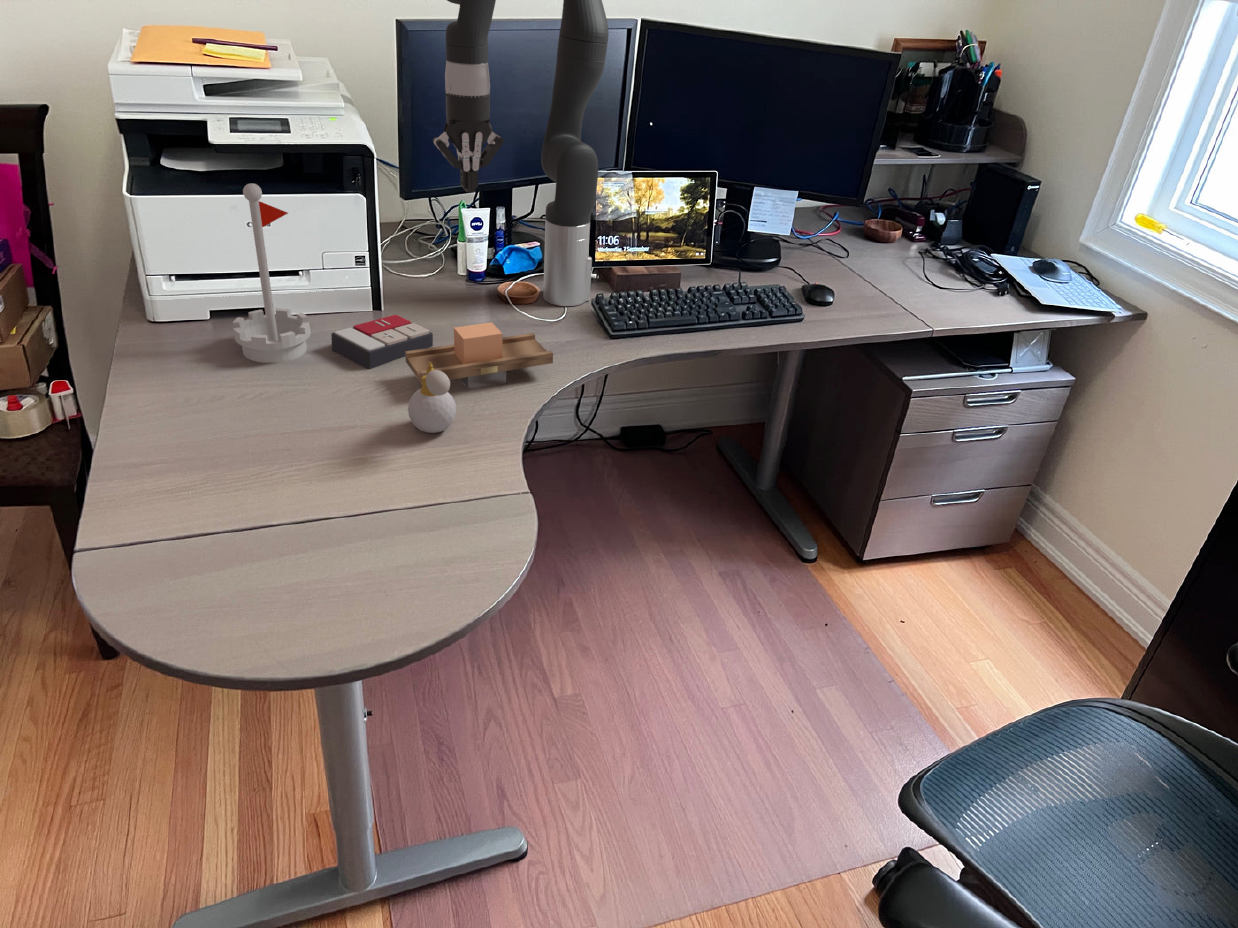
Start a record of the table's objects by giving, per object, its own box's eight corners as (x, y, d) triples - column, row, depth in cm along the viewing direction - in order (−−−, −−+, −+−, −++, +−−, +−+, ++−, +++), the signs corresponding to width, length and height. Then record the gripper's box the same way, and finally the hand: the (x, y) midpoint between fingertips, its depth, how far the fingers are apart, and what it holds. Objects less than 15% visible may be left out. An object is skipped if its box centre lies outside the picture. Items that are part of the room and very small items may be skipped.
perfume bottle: (436, 412, 149) (434, 346, 143) (475, 434, 144) (474, 367, 138) (399, 427, 144) (394, 359, 138) (438, 451, 139) (435, 381, 133)
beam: (532, 357, 169) (533, 333, 167) (552, 378, 163) (553, 353, 160) (406, 377, 159) (405, 351, 156) (422, 400, 152) (421, 373, 150)
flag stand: (237, 368, 157) (208, 196, 141) (235, 338, 167) (207, 174, 152) (316, 361, 162) (296, 193, 146) (309, 332, 172) (289, 172, 156)
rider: (491, 348, 162) (491, 322, 159) (502, 359, 158) (502, 333, 156) (454, 353, 159) (453, 327, 156) (464, 365, 155) (463, 339, 152)
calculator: (433, 329, 169) (367, 348, 158) (433, 350, 171) (368, 371, 161) (396, 312, 175) (329, 329, 164) (396, 332, 177) (331, 351, 166)
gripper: (495, 85, 161) (496, 183, 170) (423, 86, 155) (427, 187, 164) (511, 93, 155) (511, 194, 165) (437, 94, 150) (440, 199, 159)
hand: (469, 190), depth 164 cm, fingers closed
